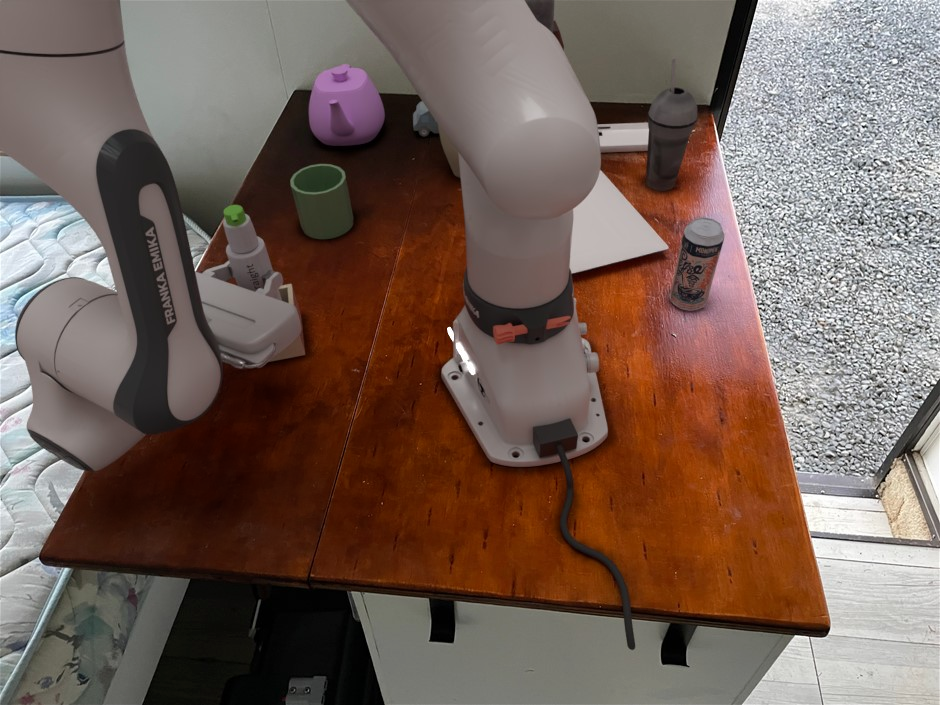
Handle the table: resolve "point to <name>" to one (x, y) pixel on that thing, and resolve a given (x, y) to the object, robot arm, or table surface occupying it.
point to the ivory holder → (298, 344)
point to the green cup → (322, 201)
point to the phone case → (624, 137)
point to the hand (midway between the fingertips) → (258, 269)
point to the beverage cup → (668, 134)
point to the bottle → (245, 250)
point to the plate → (609, 230)
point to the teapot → (345, 107)
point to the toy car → (424, 121)
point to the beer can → (696, 263)
